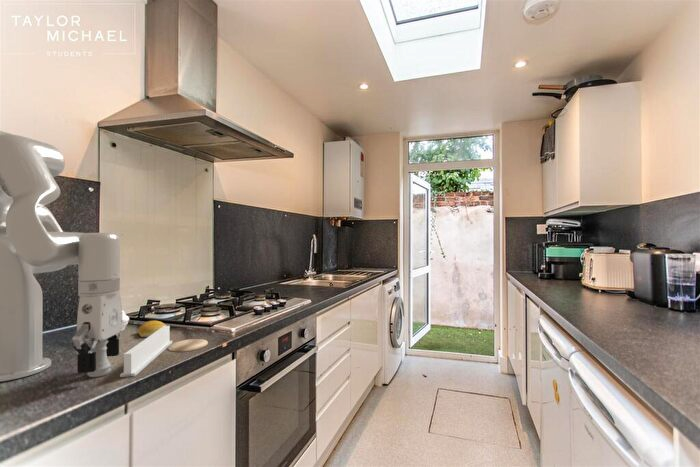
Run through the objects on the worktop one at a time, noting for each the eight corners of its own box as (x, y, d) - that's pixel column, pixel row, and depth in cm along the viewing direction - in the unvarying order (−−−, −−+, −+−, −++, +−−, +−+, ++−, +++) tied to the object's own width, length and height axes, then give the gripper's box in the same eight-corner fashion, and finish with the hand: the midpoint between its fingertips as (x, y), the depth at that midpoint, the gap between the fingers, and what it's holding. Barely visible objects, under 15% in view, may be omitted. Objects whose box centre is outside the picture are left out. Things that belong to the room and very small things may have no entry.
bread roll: (141, 339, 102) (141, 326, 102) (136, 333, 108) (136, 321, 109) (171, 334, 107) (171, 321, 107) (164, 328, 114) (164, 317, 114)
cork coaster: (162, 353, 89) (162, 351, 89) (175, 341, 99) (175, 340, 99) (202, 350, 91) (202, 348, 91) (211, 339, 101) (211, 338, 101)
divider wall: (120, 377, 74) (120, 354, 74) (161, 343, 97) (161, 326, 97) (135, 376, 74) (135, 353, 74) (172, 342, 98) (172, 325, 98)
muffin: (129, 327, 116) (129, 306, 116) (129, 331, 110) (129, 310, 111) (107, 329, 112) (107, 309, 112) (105, 334, 107) (105, 312, 107)
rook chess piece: (87, 373, 76) (87, 337, 76) (111, 368, 79) (111, 334, 79) (86, 379, 72) (86, 342, 72) (111, 374, 75) (111, 338, 75)
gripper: (96, 292, 68) (96, 377, 68) (135, 281, 85) (135, 349, 85) (54, 294, 67) (54, 380, 66) (102, 282, 84) (102, 351, 83)
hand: (99, 363), depth 76 cm, fingers open, 9 cm apart
